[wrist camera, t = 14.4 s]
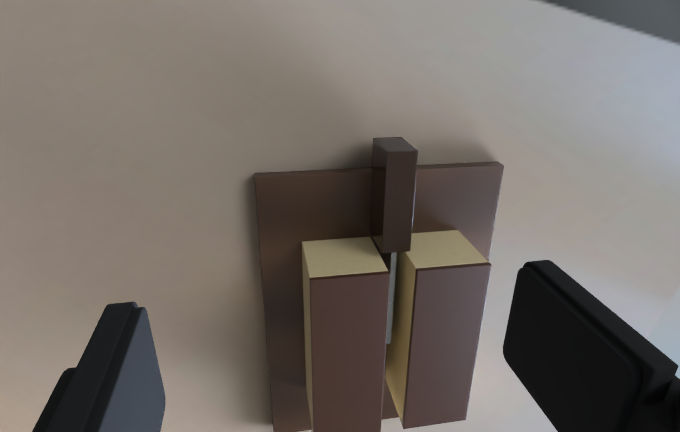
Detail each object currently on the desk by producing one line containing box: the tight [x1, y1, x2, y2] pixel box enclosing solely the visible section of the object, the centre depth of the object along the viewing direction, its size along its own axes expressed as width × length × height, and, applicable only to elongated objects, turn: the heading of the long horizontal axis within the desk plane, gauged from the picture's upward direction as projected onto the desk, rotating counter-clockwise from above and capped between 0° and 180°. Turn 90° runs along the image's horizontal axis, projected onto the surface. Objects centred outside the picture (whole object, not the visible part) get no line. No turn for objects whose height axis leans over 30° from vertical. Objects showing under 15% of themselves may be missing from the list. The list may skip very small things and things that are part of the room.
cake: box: [302, 230, 491, 432], centre depth 34 cm, size 14×12×5 cm
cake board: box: [255, 162, 504, 432], centre depth 36 cm, size 24×18×1 cm
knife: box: [370, 137, 418, 344], centre depth 32 cm, size 15×2×4 cm, turn 0°
